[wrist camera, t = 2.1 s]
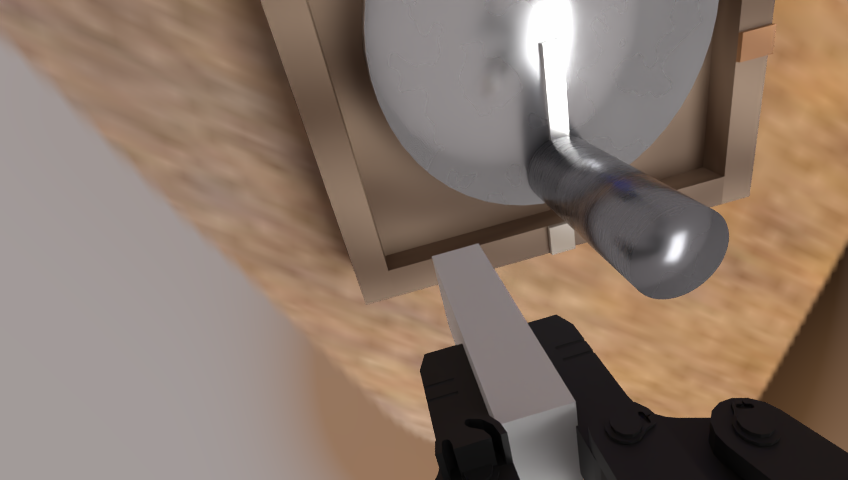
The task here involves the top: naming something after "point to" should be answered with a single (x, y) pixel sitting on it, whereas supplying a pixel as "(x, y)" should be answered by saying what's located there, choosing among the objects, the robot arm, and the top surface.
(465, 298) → the robot arm
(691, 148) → the dial panel
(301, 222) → the top surface
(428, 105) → the dial
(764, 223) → the top surface
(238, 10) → the top surface
